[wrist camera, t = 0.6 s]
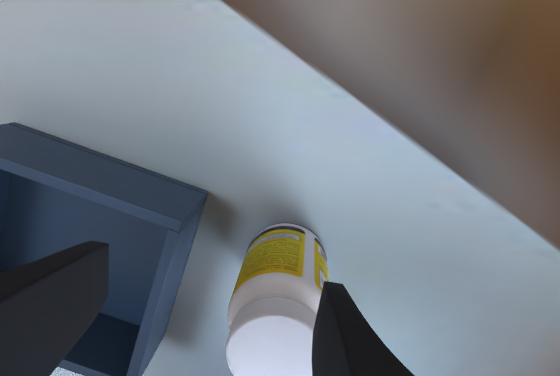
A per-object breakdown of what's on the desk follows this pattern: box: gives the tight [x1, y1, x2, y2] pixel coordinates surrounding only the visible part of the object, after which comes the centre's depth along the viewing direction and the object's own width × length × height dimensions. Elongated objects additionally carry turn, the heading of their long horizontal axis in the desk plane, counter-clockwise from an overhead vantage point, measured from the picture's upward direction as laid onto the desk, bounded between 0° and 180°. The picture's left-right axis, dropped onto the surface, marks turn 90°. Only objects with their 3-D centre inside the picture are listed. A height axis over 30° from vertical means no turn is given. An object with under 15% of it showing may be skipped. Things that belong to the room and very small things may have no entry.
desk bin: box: [0, 122, 208, 376], centre depth 22 cm, size 11×12×5 cm
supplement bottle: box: [226, 223, 329, 376], centre depth 20 cm, size 5×5×8 cm
